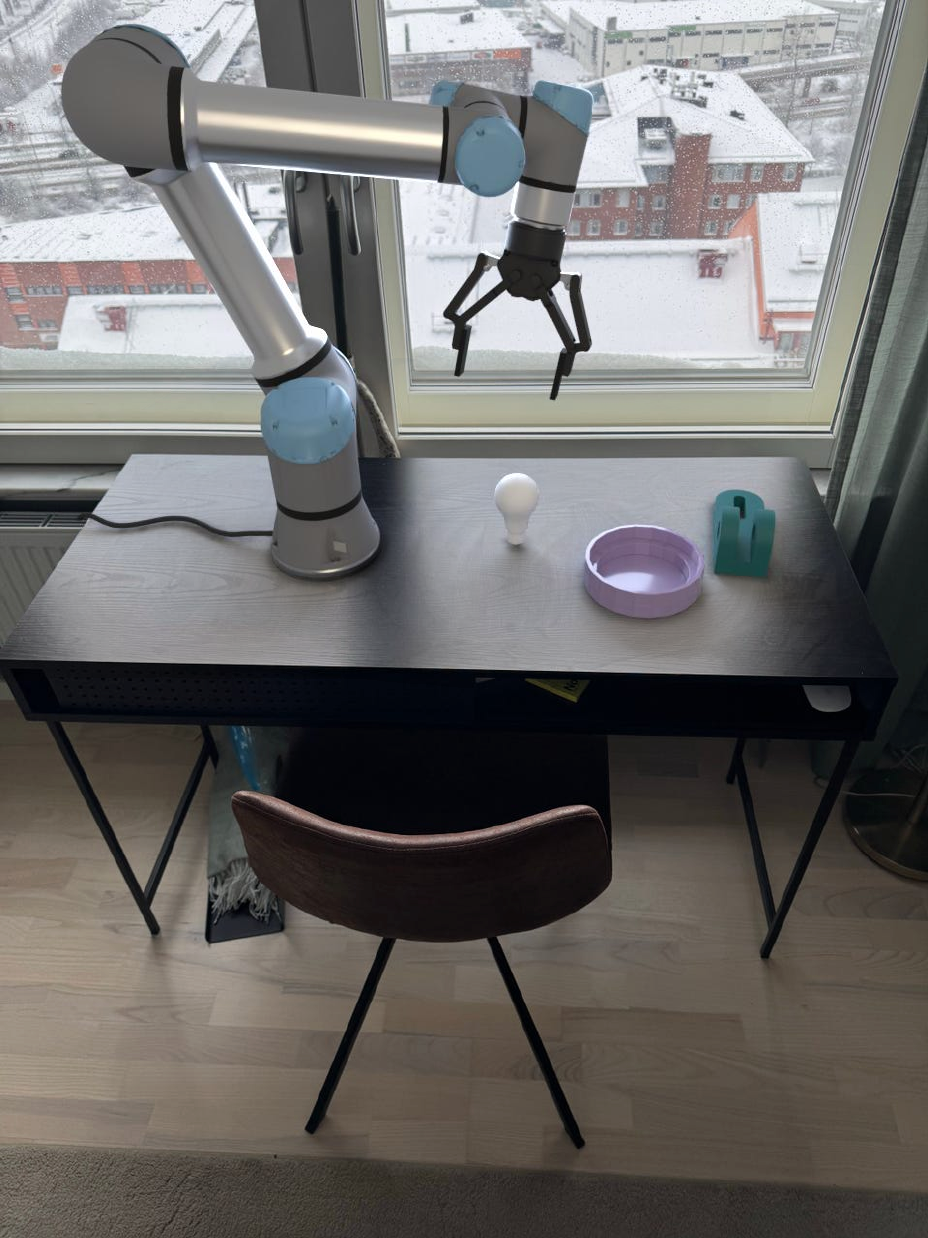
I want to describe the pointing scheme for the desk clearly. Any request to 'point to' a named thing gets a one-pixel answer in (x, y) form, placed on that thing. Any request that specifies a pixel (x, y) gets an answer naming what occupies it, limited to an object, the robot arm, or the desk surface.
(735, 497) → the bracket
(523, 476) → the lightbulb
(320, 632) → the desk surface
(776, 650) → the desk surface
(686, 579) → the bowl
